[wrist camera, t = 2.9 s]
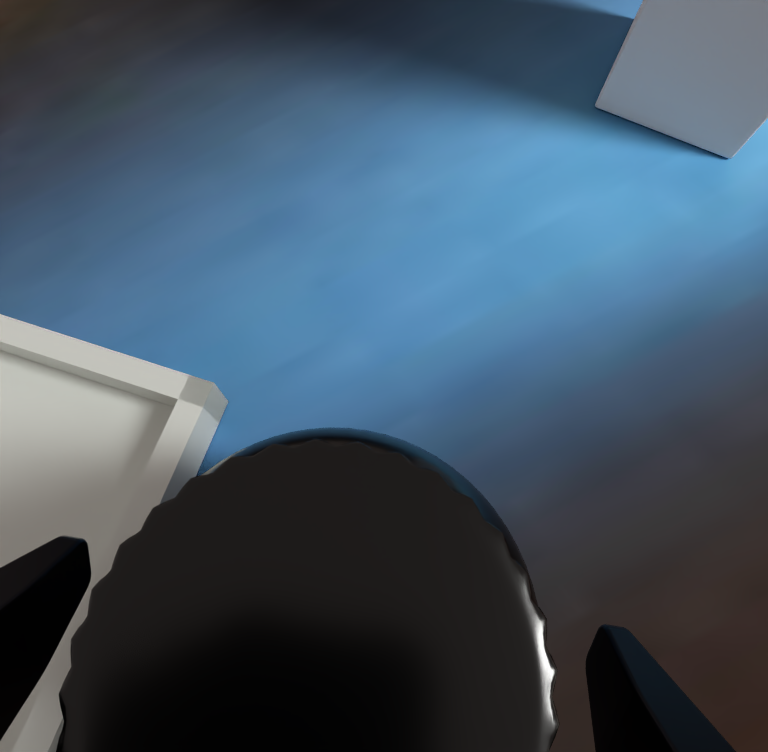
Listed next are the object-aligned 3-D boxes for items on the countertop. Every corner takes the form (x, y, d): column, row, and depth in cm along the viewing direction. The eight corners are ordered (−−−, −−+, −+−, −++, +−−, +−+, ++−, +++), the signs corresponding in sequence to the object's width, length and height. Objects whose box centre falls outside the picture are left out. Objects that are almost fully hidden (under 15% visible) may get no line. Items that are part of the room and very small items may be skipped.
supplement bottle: (194, 708, 15) (-255, 1066, 4) (263, 469, 18) (92, 284, 6) (436, 766, 15) (650, 1311, 4) (475, 516, 18) (679, 409, 6)
